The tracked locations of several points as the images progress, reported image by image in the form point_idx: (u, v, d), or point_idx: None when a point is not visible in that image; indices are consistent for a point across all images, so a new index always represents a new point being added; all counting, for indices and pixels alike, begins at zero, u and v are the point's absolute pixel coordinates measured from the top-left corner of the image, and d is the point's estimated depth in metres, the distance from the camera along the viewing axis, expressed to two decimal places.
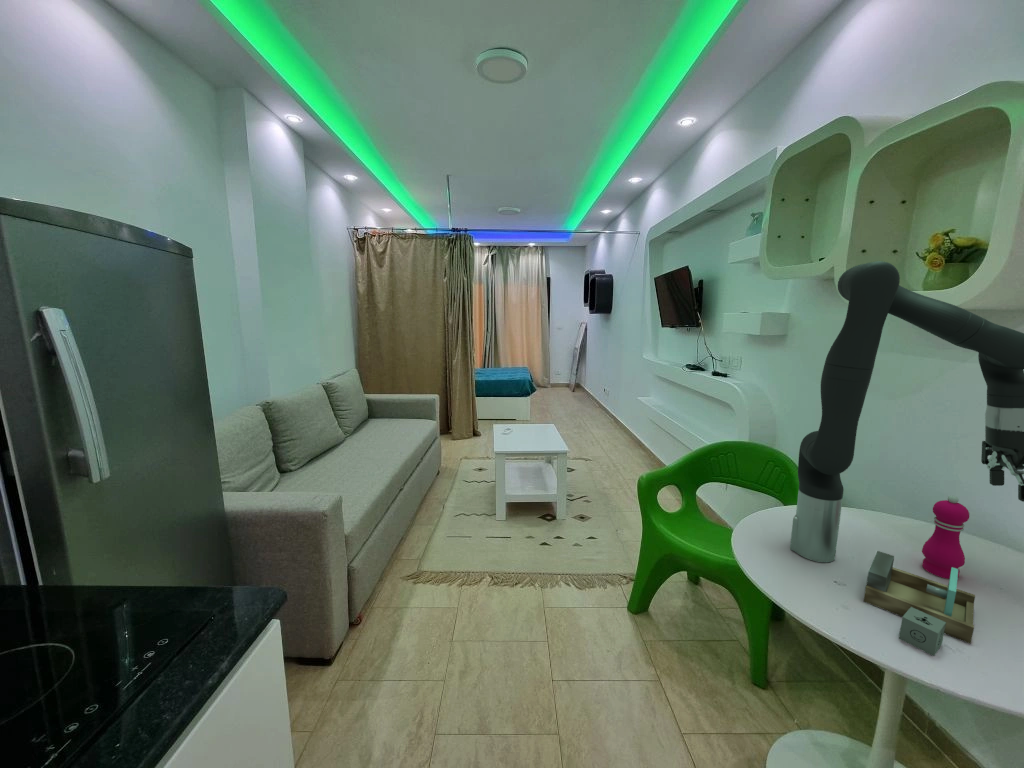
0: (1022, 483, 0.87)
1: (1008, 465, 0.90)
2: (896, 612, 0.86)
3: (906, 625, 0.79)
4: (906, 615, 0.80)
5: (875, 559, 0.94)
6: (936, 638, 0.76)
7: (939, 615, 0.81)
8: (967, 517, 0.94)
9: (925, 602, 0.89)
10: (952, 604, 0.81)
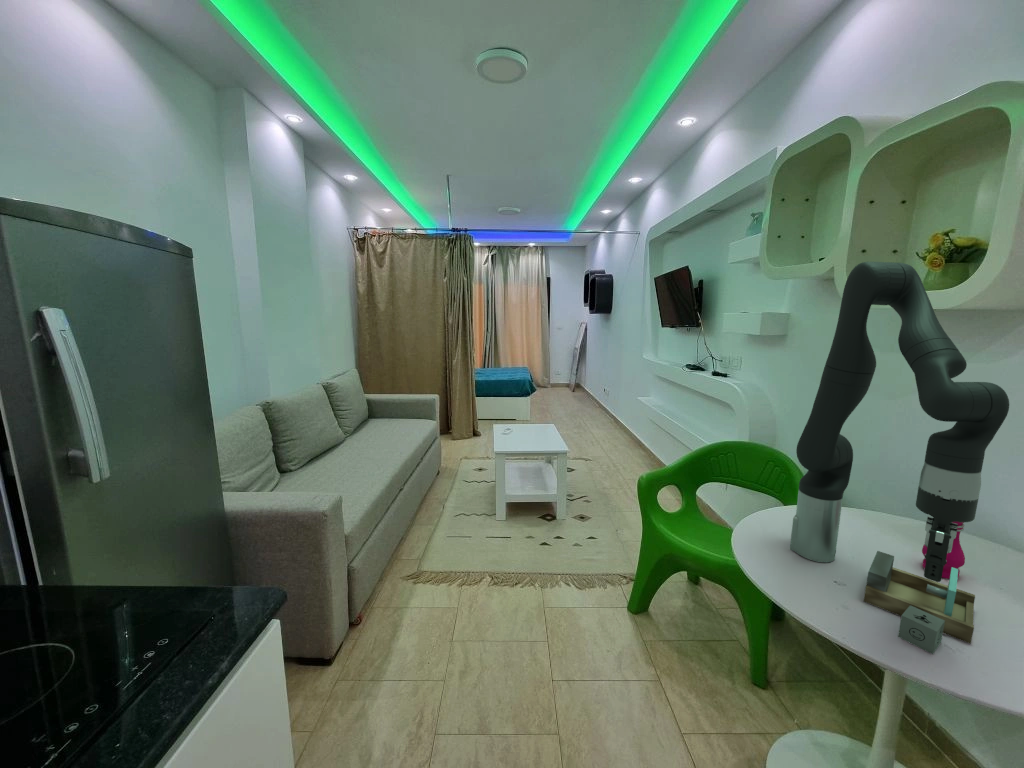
0: None
1: (926, 534, 0.75)
2: (896, 612, 0.86)
3: (905, 623, 0.80)
4: (905, 613, 0.80)
5: (875, 559, 0.94)
6: (935, 636, 0.76)
7: (939, 615, 0.81)
8: None
9: (925, 602, 0.89)
10: (952, 604, 0.81)
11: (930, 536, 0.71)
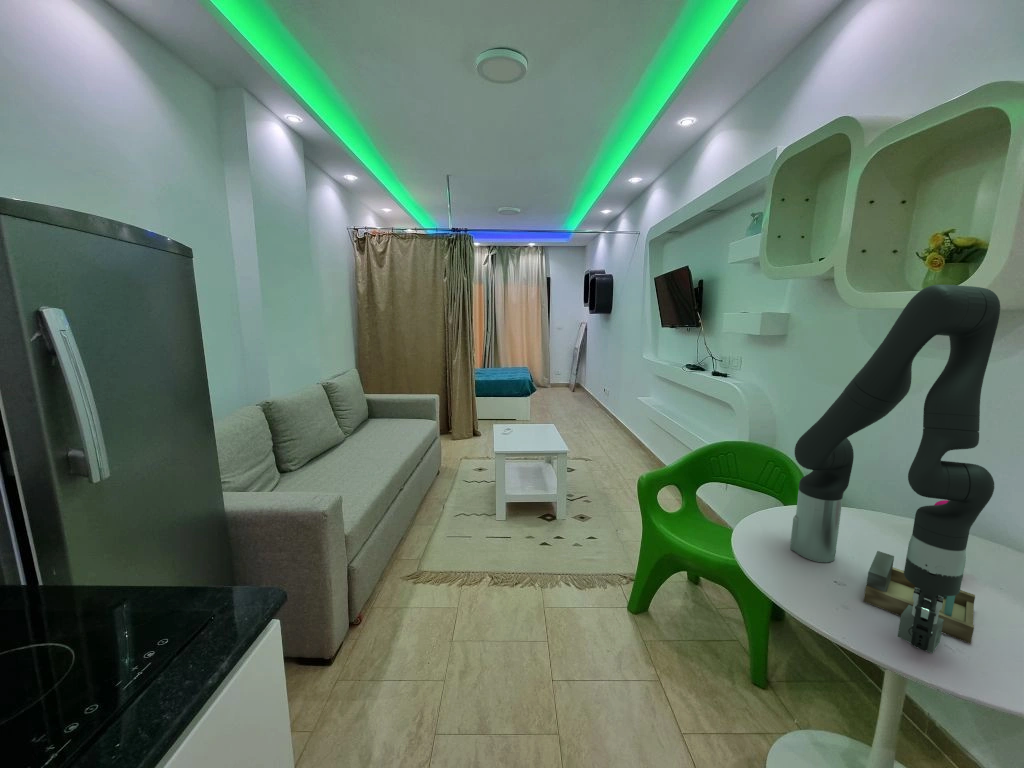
0: (913, 626, 0.77)
1: (913, 603, 0.78)
2: (896, 612, 0.86)
3: (905, 623, 0.80)
4: (905, 613, 0.80)
5: (875, 559, 0.94)
6: (934, 636, 0.76)
7: (939, 615, 0.81)
8: None
9: None
10: (952, 604, 0.81)
11: (916, 612, 0.75)
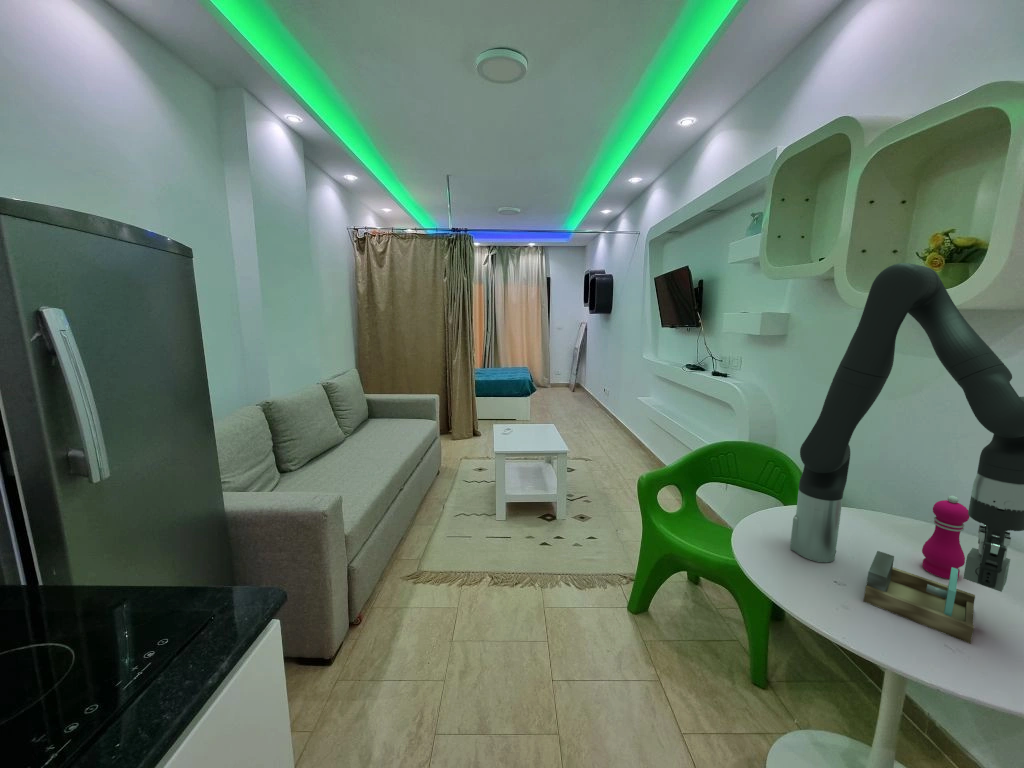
0: None
1: (979, 542, 0.79)
2: (896, 612, 0.86)
3: (971, 564, 0.80)
4: (970, 554, 0.81)
5: (875, 559, 0.94)
6: (1004, 573, 0.77)
7: (939, 615, 0.81)
8: (967, 517, 0.94)
9: (925, 602, 0.89)
10: (952, 604, 0.81)
11: (985, 548, 0.76)
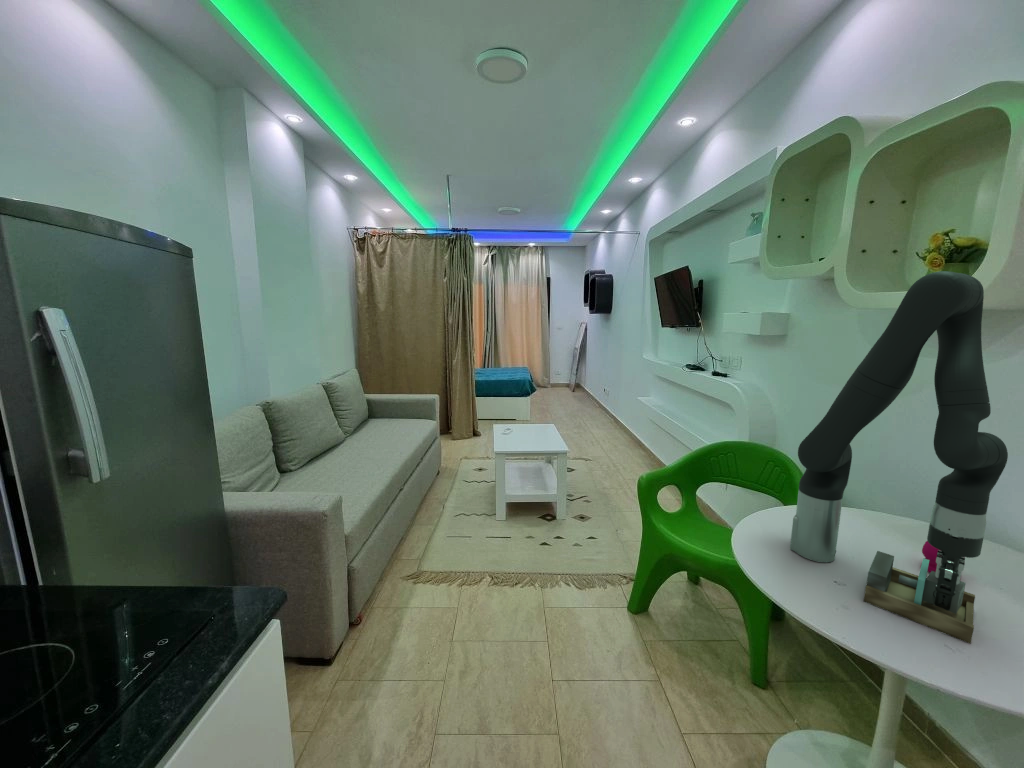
0: (936, 587, 0.83)
1: None
2: (896, 612, 0.86)
3: (929, 586, 0.85)
4: (929, 577, 0.86)
5: (875, 559, 0.94)
6: (958, 596, 0.82)
7: (939, 615, 0.81)
8: None
9: (925, 602, 0.89)
10: (921, 593, 0.84)
11: (940, 573, 0.81)
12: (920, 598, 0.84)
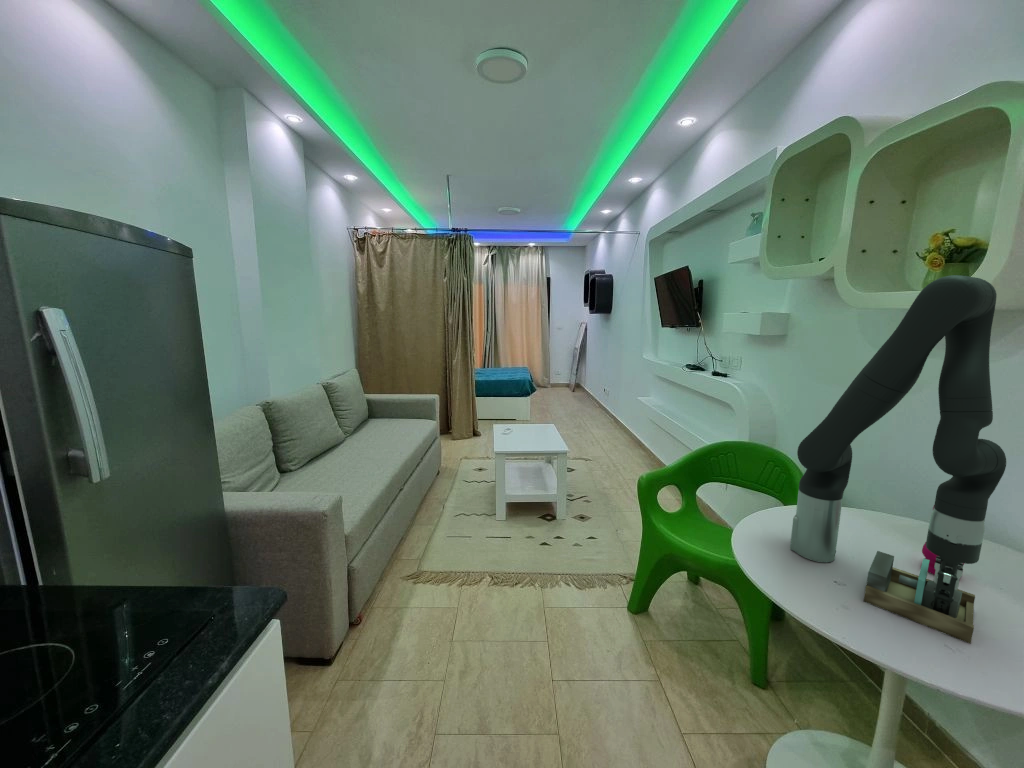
0: None
1: (935, 572, 0.84)
2: (896, 612, 0.86)
3: (927, 596, 0.86)
4: (927, 587, 0.86)
5: (875, 559, 0.94)
6: (956, 606, 0.82)
7: (939, 615, 0.81)
8: None
9: None
10: (921, 593, 0.84)
11: (939, 577, 0.81)
12: (920, 598, 0.84)
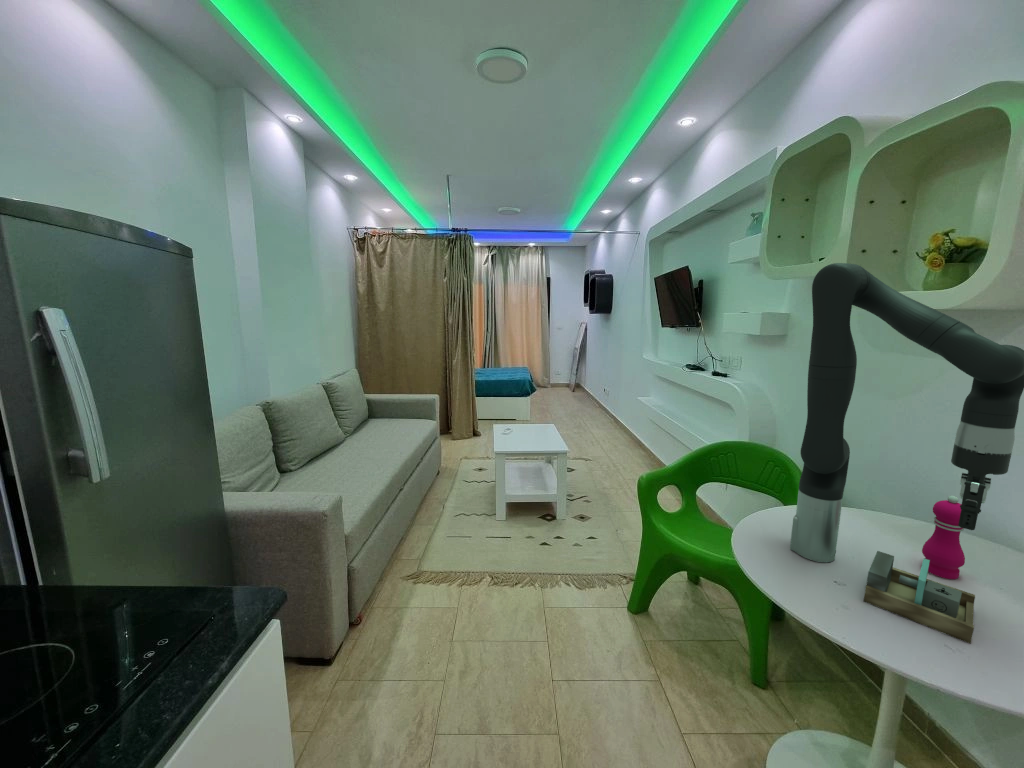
0: None
1: (961, 487, 0.82)
2: (896, 612, 0.86)
3: (928, 597, 0.86)
4: (927, 587, 0.86)
5: (875, 559, 0.94)
6: (957, 607, 0.82)
7: (939, 615, 0.81)
8: None
9: None
10: (922, 593, 0.84)
11: (966, 487, 0.78)
12: (920, 598, 0.84)
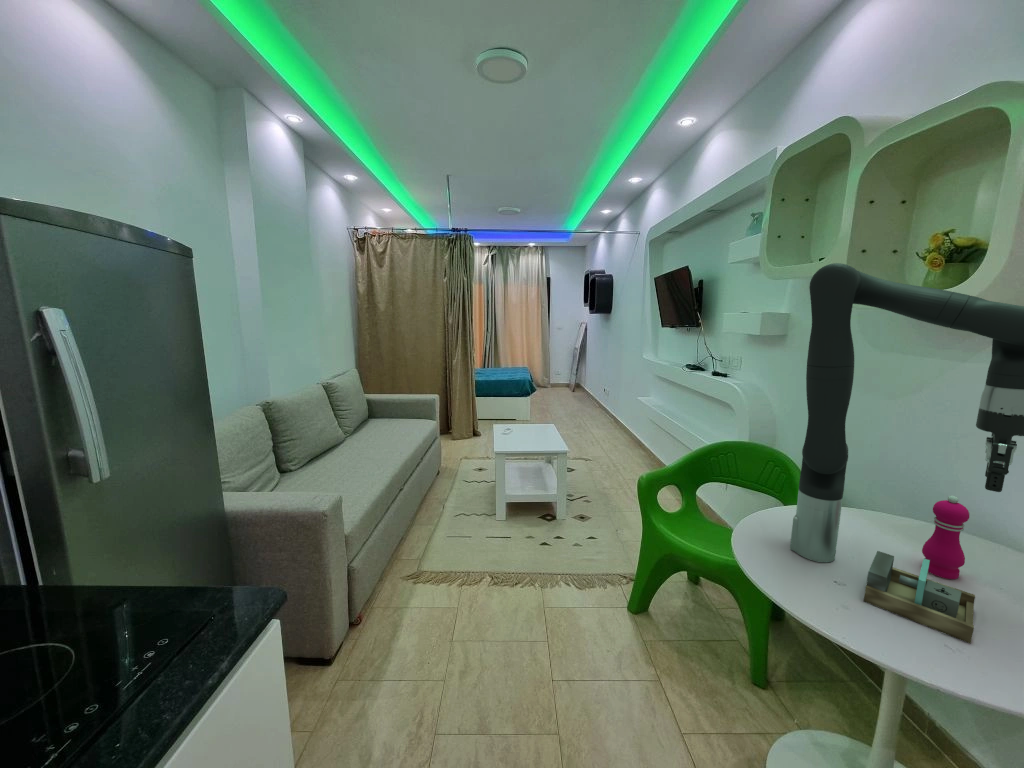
0: (988, 469, 0.81)
1: (986, 450, 0.83)
2: (896, 612, 0.86)
3: (928, 597, 0.85)
4: (927, 587, 0.86)
5: (875, 559, 0.94)
6: (957, 607, 0.82)
7: (939, 615, 0.81)
8: (967, 517, 0.94)
9: None
10: (922, 593, 0.84)
11: (993, 449, 0.79)
12: (920, 598, 0.84)
